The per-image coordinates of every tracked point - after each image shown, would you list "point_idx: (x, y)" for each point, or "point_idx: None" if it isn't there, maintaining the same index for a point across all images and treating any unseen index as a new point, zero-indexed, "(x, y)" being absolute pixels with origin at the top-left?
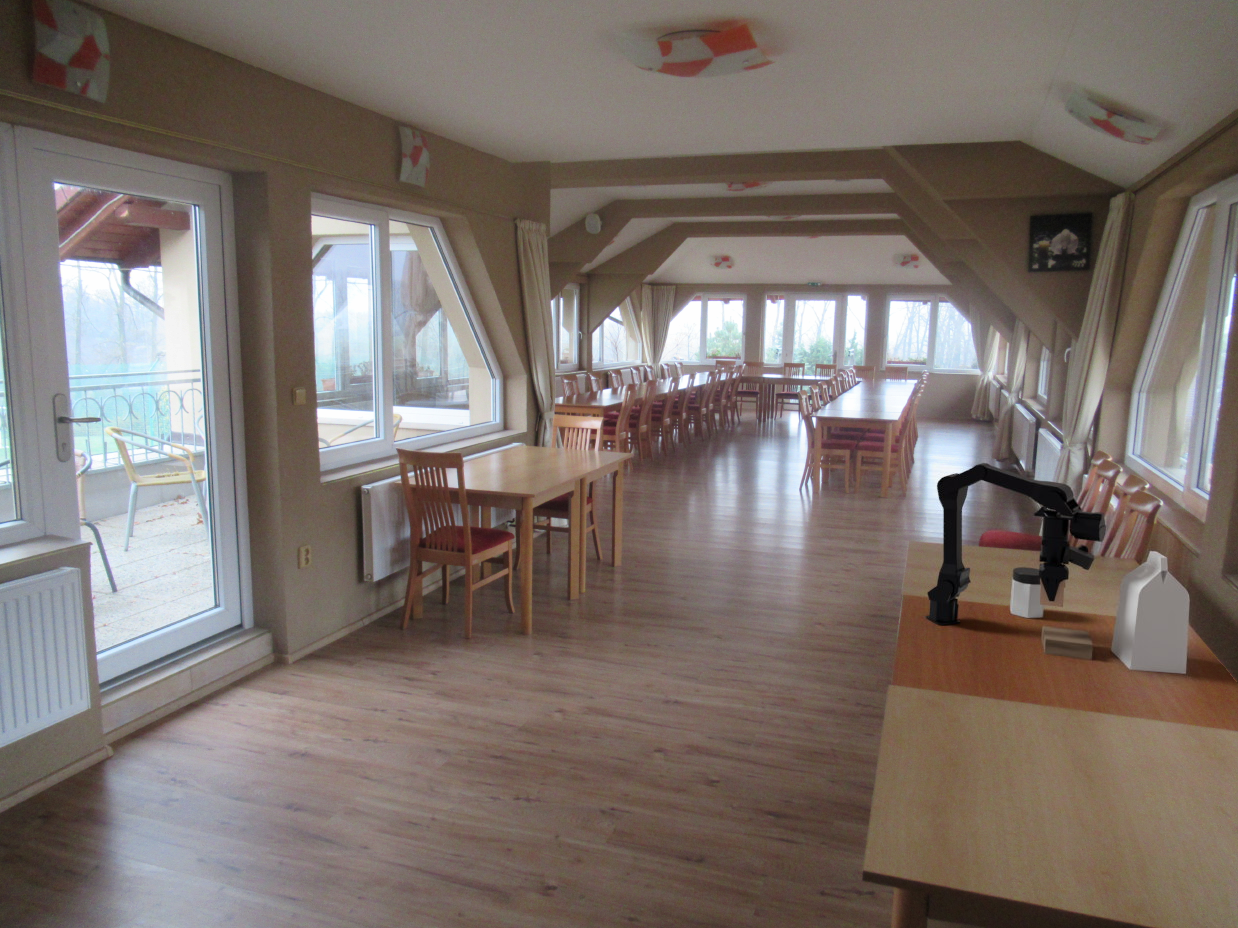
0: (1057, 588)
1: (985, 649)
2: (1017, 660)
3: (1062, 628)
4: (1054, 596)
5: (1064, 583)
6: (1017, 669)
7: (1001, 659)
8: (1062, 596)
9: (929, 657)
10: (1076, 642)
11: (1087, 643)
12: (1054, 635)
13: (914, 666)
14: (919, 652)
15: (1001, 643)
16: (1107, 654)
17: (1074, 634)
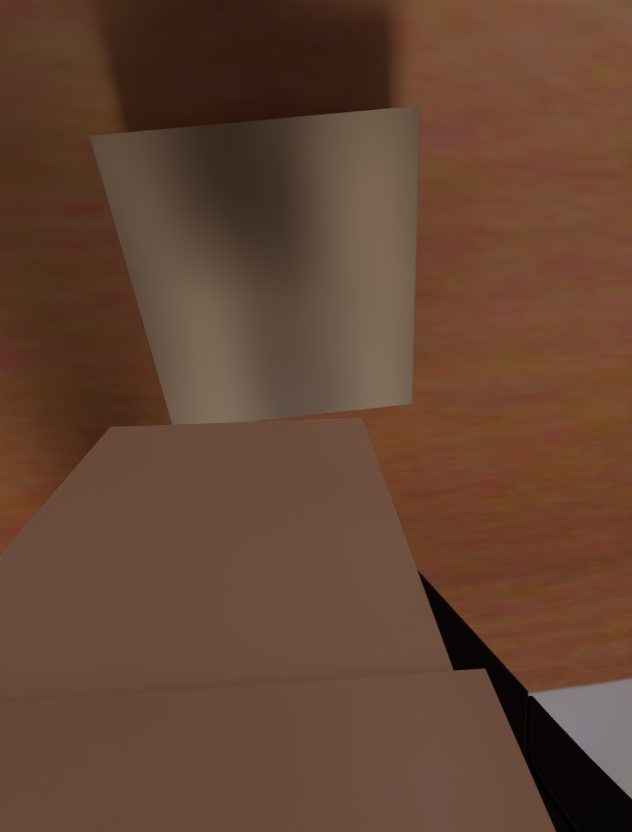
0: (558, 731)
1: (430, 557)
2: (514, 462)
3: (148, 320)
4: (430, 591)
5: (541, 828)
6: (611, 455)
7: (518, 507)
8: (395, 515)
9: (552, 653)
10: (406, 231)
11: (398, 150)
12: (323, 363)
13: (627, 665)
14: (518, 674)
15: None
16: (242, 5)
17: (235, 242)
